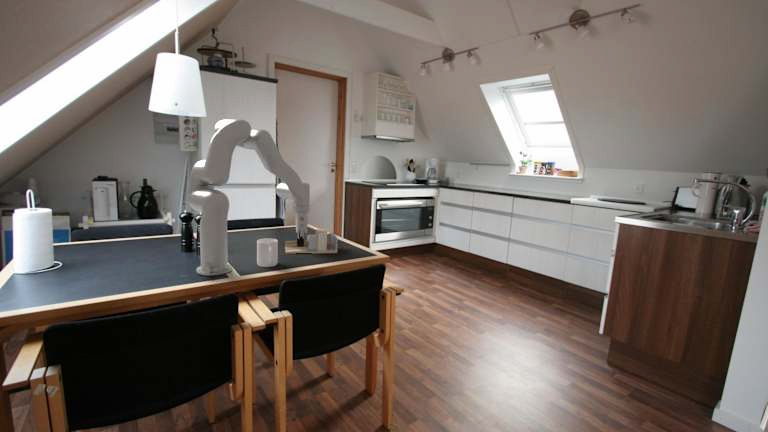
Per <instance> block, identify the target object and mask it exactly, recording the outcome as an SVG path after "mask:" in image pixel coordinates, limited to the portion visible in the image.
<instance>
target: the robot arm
mask: <svg viewBox="0 0 768 432" xmlns="http://www.w3.org/2000/svg"><path fill="white" fill-rule="evenodd" d="M236 147H239V148H243V149H246V150H253V151H255V153H256V155H257V156H258V158H259V159H260V161H261V164H262V165H263V167H264V169H265V170H267V171H268V172H269V173H270V174H273V175H274V176H275V177H277V178H279V179H280V180H281V181H282V182H280V183H278V184H277V185H276V187H275V194H276V195H277V196H278V198H281V199H284V200H289V201H290V200H291V201H292V212H293V213H295V214H294V215H295V220H294V221H295V231H296V233H297V235H296V236H297V237H296V241H297V247H304V241H305V238H304V237H305V234H308V213H310V201H311V200H310V196H311V193H310V192H311V186H310V183H308V182H303V181H302V179H301V177H300V176H299V174H298V173H297V172H296V171H295V169H294V168H293V167H292V166H290V165H289V164H288V163H287V161H285V160H284V158H283V157H282V154H281V152H280V151H279V148H278V147H277V145H276V143H275V141H274V139H273V137H272V134H271V133H270V132H269V131H268V130H265V129H258V128H252V126H251V124H250V122H248V121H247V120H245V119H242V118H240V119H239V118H236V119H235V118H232V119H231V118H230V119H222V120H221V119H220V120H219V121H218V122H216V123H215V126H214V134H213V136H212V137H211V139H210V142H209V143H208V148H207V149H208V150H207V154H206V158H205V159H202V160H199V161H196V163H194V165H193V167H192V169H191V173H190V178H189V185H188V193H187V200H188V205H189V206H190V208H191V209H193V211H197V212H198V213H201V216H200V220H199V221H200V222H199V248H200V249H199V250H200V253H199V254H200V266H198V267H196V271H195V272H196V273H197V274H198V275H201V276H220V275H224V274H228V273H230V272H232V270H233V266H232V265H231V264H229V263H228V261H229V260H228V257H229V256H228V254H229V253H228V216H229V215H228V214H229V211H230V210H229V209H230V199H229V198H228V196H227V194H226V193H224V192H223V191H221V190H218V189H215V187H222V186H225V185H226V184H227V183H228V182H229V179H230V173H231V166H232V160H233V153H234V151H235V149H236Z"/></svg>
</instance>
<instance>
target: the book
mask: <svg viewBox="0 0 768 432" xmlns="http://www.w3.org/2000/svg"><path fill="white" fill-rule="evenodd" d="M327 234H328V231H327V230H326V229H324V228H320V229H315V235H316V236H317V251H327Z"/></svg>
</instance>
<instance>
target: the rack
mask: <svg viewBox="0 0 768 432" xmlns="http://www.w3.org/2000/svg"><path fill="white" fill-rule="evenodd" d="M338 240H339V239H338V237H337V235H336V234H335V233H333V232H327V251H317V250H308V247H307V240H304V247H297V240H286V241H284V242H285V243H284V244H285V245H284V250H285V255H297V254H296V253H312V254H337V253H338V244H339V243H338V242H339V241H338Z"/></svg>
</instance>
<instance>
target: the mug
mask: <svg viewBox="0 0 768 432" xmlns="http://www.w3.org/2000/svg"><path fill="white" fill-rule="evenodd" d="M278 244H279V241H278V239H276V238H267V237H266V238H265V237H264V238H260V239H257V240H256V264H257V266H259V267H261V268H270V267H271V268H272V267H275V266H277V265H278V261H279V260H278V258H279V257H278V256H279V255H278V253H279V251H278V249H279V248H278V246H279V245H278Z"/></svg>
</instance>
